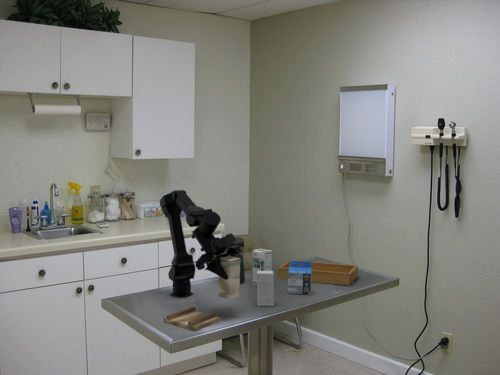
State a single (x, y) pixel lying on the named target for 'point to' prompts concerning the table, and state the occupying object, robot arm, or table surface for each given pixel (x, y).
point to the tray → (326, 273)
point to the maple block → (230, 278)
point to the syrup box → (261, 262)
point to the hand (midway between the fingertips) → (232, 277)
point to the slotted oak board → (191, 319)
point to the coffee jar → (239, 256)
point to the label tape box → (299, 277)
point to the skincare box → (265, 288)
